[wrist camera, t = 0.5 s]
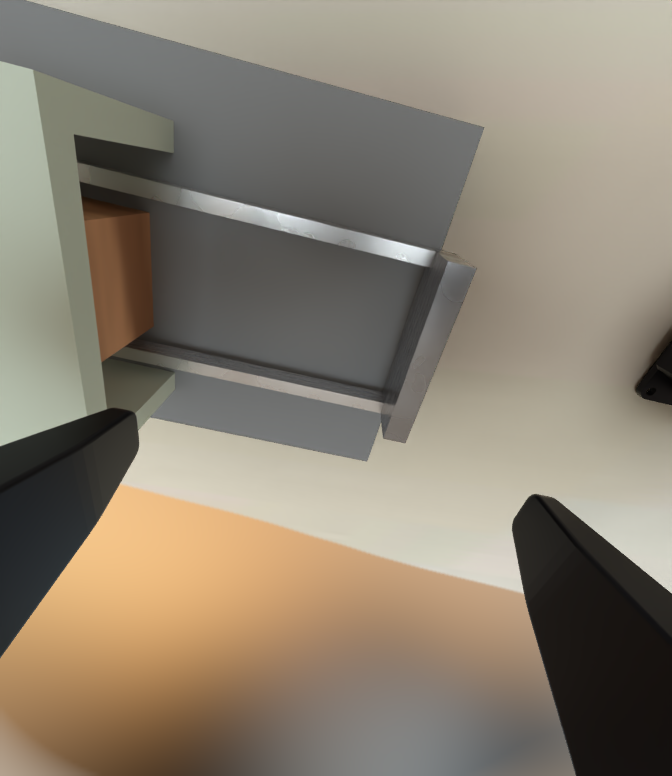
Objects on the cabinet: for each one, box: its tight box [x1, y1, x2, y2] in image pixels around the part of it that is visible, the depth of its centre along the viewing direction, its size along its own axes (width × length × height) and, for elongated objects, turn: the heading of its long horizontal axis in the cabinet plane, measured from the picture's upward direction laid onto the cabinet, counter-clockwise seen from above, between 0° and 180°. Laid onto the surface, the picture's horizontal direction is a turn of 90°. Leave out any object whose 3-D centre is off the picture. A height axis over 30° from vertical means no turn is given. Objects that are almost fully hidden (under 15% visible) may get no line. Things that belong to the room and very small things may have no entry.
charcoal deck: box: [0, 0, 484, 461], centre depth 17 cm, size 26×16×2 cm, turn 77°
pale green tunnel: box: [0, 61, 175, 446], centre depth 13 cm, size 6×12×6 cm, turn 167°
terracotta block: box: [81, 196, 154, 362], centre depth 14 cm, size 4×5×4 cm
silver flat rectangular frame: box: [77, 160, 477, 443], centre depth 14 cm, size 18×8×3 cm, turn 77°
